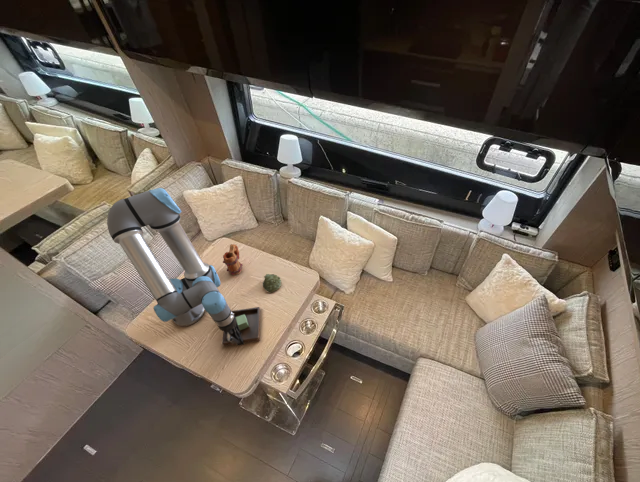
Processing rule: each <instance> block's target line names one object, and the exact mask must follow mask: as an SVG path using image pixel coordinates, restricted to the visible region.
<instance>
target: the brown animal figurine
mask: <svg viewBox="0 0 640 482" xmlns="http://www.w3.org/2000/svg"><path fill="white" fill-rule="evenodd" d="M222 259H223V261H222V263H223V264H224V265H226V267H227V268H226V270H225V271H226V272H228V273H229V274H231V275H232V276H237V275H239V274H240V273H241V272H242V269H243V263H241V262H240V261H239V259H240V249H239V248H238V246H237V244H233V243H232V244H230V245H229V251H226V252H224V254H223V255H222Z"/></svg>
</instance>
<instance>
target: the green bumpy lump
mask: <svg viewBox="0 0 640 482" xmlns="http://www.w3.org/2000/svg"><path fill="white" fill-rule="evenodd" d="M263 278H264V280H263V281H262V288H263V289H264V291H266V292H268V293H270V294H271V293H273V292H275V291H278V290H279V289H280V288H281V286H282V279H281V277H280V276H278V275H277V274H273V273H271V274H270V273H268V274H267V273H266V274H265V275H264V276H263Z"/></svg>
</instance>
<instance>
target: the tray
mask: <svg viewBox="0 0 640 482" xmlns="http://www.w3.org/2000/svg"><path fill="white" fill-rule="evenodd" d="M231 311H232V313H234V315H235V317H238V316H241V315H244V314H245V316H246V318H247V321H248V325H249V327H248V328H245V329H242V330H240V331H239V333H240V332H241V333H242V334H241V335H240V336H241V338H242V339H243V341H244V344H247V343H253V342H254V343H255V342H260V341H261V315H262V314H261V312H262V311H261V308H260V306H256V307H250V308H249V307H248V308H243V309H234V310H231ZM226 339H227V335H226V334H225V332H224V331H222V339H221V345H223V346H224V347H228V346H229V347H230V346H234V345H235V346H236V344H232V343H230V342H229V341H227V342H226Z"/></svg>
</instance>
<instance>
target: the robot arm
mask: <svg viewBox="0 0 640 482" xmlns="http://www.w3.org/2000/svg"><path fill="white" fill-rule="evenodd" d="M181 213H182V210H181V208H180V207H179V206H178V205H177V203H176V202H175V200H173V198H172V196H171V195H170V194H169V193H168V192H167V190H166V189H164V188H163V187H156V188H153V189H149V190H146V191H143V192H140V193H137V194H134V195H131V196H128V197H125V198H121V199H119V200H117V201H115V202H114V203H113V204H112V205H111V207H110V208H109V211H108V212H107V219H106V227H107V231H108V233H109V236H110V238H111V239H112V241H113V242H114V243H115V244H119V245H120V248H121V249H122V251H123V252H124V254H125V255H126V256H127V258H128V260H129V261H130V263H131V264H132V266H133V267H134V269H135V270H136V272H137V273H138V275H139V277H140V278H141V280H142V281H143V283H144V284H145V286H146V287H147V289H148V290H149V292H150V294H151V296H152V297H153V299H154V300H155V301H156V303H157V304H155V305H154V306H153V311H154V313H155V314H156V317H158V319H159V320H160V321H161V322H165V323H167V322H170V321H171V320H172V322H173V323H174V324H175V325H176V326H179V327H189V326H193V325H194V324H196V323H198V322H199V321H200V320H201V319H202V318H203V316H204V315H205V312H206V313H207V314H208V315H209V316H210V318H211V319H212V322H214V324H215V325H216V326H217V328H218V329H219V330H220V331H222V332H225V334H226V335H227V339H226V342H227V341H229V342H230V343H232V344H235V345H237V346H242V345H243V346H244V344H245V343H244V341H243V339H242V338H241V336H240V335H241V334H242V333H241V332H240V333H239V331H240V329H239V326H238V324H237V320H236V317H235V315H234V313H232V311H233V310H232V309H231V308H230V306H229V304H228V303H227V300H226V298H225V297H224V295H223V294H222V293H221V292H220V290H219V289H218V288H219V287H221V279H220V277H219V275H218V272H217V270H216V268H215V266H214V265H212V264H208V262H205V261H203V259H202V258H201V256H200V254H199V253H198V251H197V249H196V248H195V246H194V244H193V243H192V241H191V239H190V238H189V236H188V235H187V233H186V231H185V229H184V228H183V226H182V225H181V223H180V220H181V218H182V217H181V216H180V214H181ZM147 226H149V227H150V229H151V230H153V231H157V232H158V233H159V235H160V237H161V238H162V239H163V241H164V242H165V244H166V245H167V247H168V249H169V250H170V251H171V253H172V254H173V256H174V257H175V258H176V260H177V262H178V263H179V264H180V266H181V267H182V269H183V270H184V272H183V278H181V279H180V278H176V277H174V278H173V277H172V278H171V277H169V275H168V274H167V272H166V271H165V269H164V268H163V266H162V264H161V263H160V262H159V260H158V258H157V257H156V256H155V254H154V251H153V250H152V248H151V247H150V246H149V244H148V241H146V240H145V237H144V236H143V235H144V234H145V233H144V232H145V231H143V229H142V228H144V227H147Z"/></svg>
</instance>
